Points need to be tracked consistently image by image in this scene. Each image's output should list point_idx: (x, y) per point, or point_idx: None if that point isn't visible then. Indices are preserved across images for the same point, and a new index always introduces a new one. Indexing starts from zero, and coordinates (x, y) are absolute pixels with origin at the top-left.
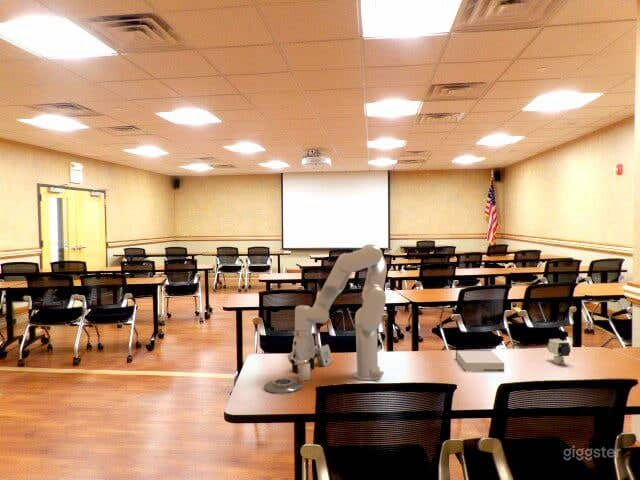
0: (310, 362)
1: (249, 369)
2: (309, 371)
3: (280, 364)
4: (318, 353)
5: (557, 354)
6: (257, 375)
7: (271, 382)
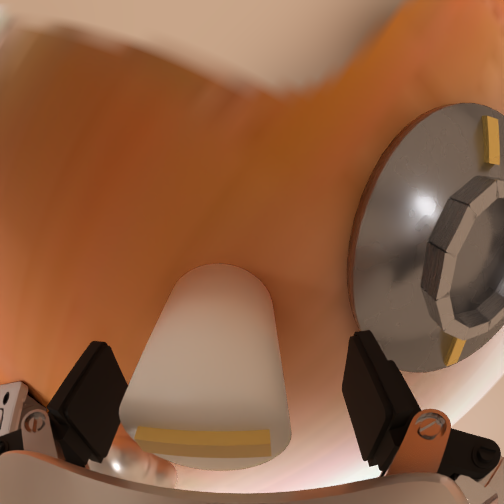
0: (97, 424)
1: None
2: (177, 314)
3: None
4: None
5: None
6: None
7: (465, 346)
